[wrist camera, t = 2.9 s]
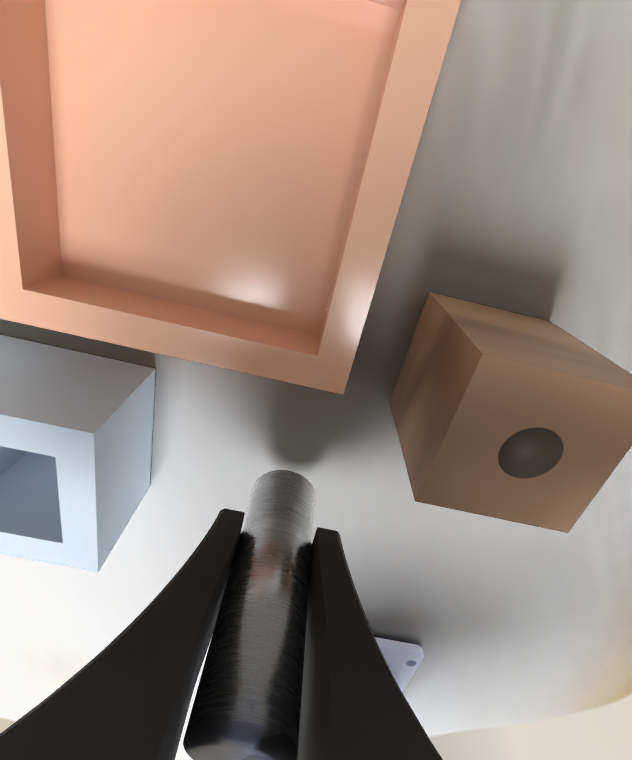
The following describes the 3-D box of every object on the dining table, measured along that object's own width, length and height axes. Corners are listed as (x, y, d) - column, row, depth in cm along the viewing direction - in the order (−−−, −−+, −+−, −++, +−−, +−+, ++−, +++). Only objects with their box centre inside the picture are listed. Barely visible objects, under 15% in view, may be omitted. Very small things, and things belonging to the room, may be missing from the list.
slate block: (149, 486, 16) (98, 572, 13) (12, 459, 16) (-81, 539, 12) (155, 368, 14) (94, 433, 10) (-7, 332, 13) (-129, 387, 10)
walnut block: (495, 423, 14) (568, 533, 10) (389, 399, 14) (415, 501, 10) (548, 320, 13) (667, 397, 8) (428, 291, 12) (483, 354, 8)
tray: (341, 363, 13) (343, 394, 12) (41, 295, 13) (-12, 316, 11) (453, -26, 9) (486, -84, 7) (2, -161, 8) (-100, -266, 6)
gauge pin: (307, 523, 14) (285, 784, 8) (248, 511, 14) (178, 767, 8) (321, 477, 13) (308, 732, 7) (257, 464, 13) (188, 711, 7)
